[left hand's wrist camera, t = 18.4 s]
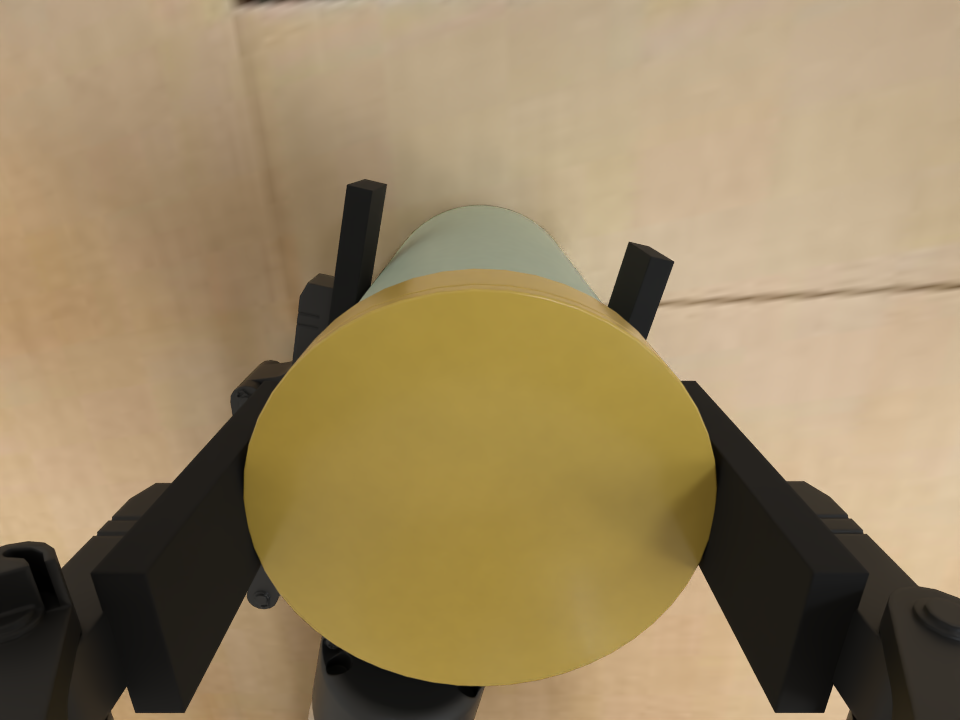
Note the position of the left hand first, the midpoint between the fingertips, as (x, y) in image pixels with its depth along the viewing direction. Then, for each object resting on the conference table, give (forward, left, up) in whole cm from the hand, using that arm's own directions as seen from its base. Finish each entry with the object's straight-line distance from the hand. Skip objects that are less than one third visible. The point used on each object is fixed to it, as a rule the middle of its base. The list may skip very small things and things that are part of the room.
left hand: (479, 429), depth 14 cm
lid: (0, 0, +3) cm, 3 cm away
